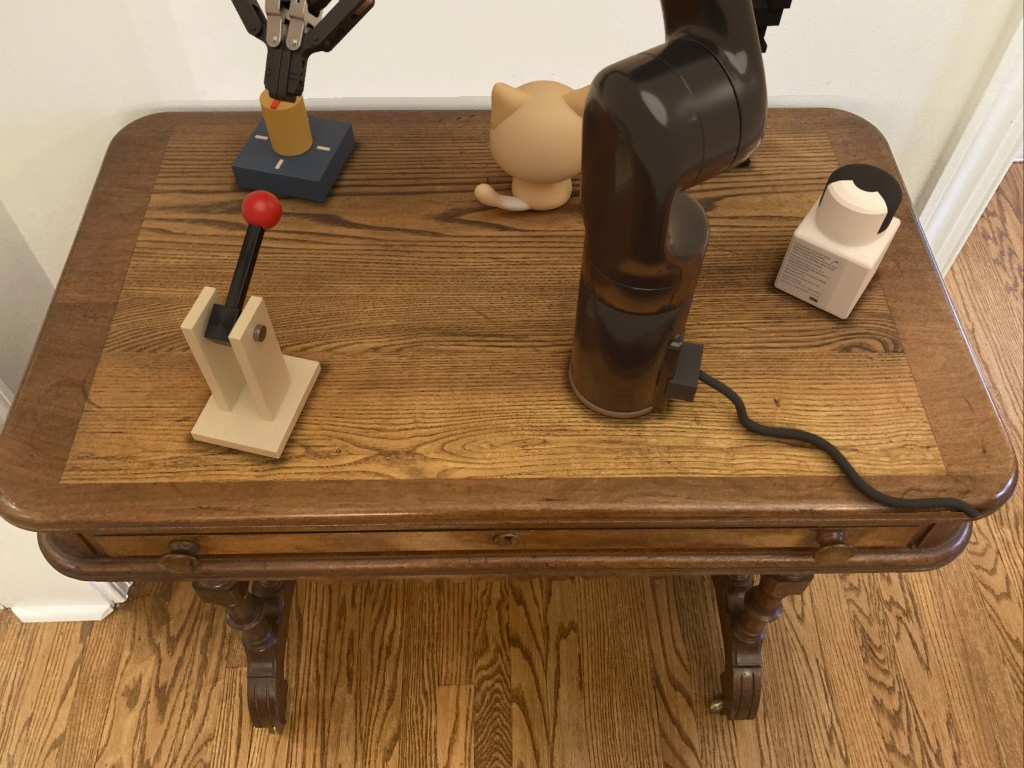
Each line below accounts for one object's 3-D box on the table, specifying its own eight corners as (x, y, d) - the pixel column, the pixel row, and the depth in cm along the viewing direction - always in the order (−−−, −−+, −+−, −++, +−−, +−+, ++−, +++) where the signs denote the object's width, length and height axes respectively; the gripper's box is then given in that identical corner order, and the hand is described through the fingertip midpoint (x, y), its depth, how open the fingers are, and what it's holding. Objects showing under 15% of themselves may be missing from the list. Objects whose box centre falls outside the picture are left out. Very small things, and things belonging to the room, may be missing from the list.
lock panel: (355, 144, 98) (351, 121, 95) (323, 203, 92) (318, 180, 90) (274, 130, 99) (267, 107, 97) (237, 187, 94) (230, 164, 91)
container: (803, 242, 90) (844, 142, 79) (874, 274, 87) (925, 175, 76) (771, 287, 86) (809, 188, 75) (844, 322, 83) (894, 224, 73)
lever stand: (241, 352, 81) (203, 257, 70) (321, 369, 79) (294, 275, 69) (194, 439, 75) (144, 350, 64) (279, 459, 74) (242, 372, 63)
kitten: (611, 166, 96) (626, 47, 84) (616, 230, 90) (634, 111, 78) (478, 165, 96) (474, 45, 84) (475, 228, 90) (470, 109, 78)
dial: (280, 127, 95) (267, 78, 90) (318, 133, 94) (307, 84, 89) (265, 153, 92) (251, 104, 87) (304, 159, 92) (292, 110, 87)
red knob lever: (256, 196, 72) (241, 180, 69) (292, 203, 72) (278, 187, 68) (213, 343, 70) (195, 334, 67) (249, 351, 69) (233, 342, 66)
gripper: (208, -162, 64) (182, 78, 67) (376, -141, 62) (342, 105, 65) (254, -119, 71) (229, 96, 74) (406, -99, 69) (374, 120, 72)
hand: (282, 100), depth 69 cm, fingers closed
